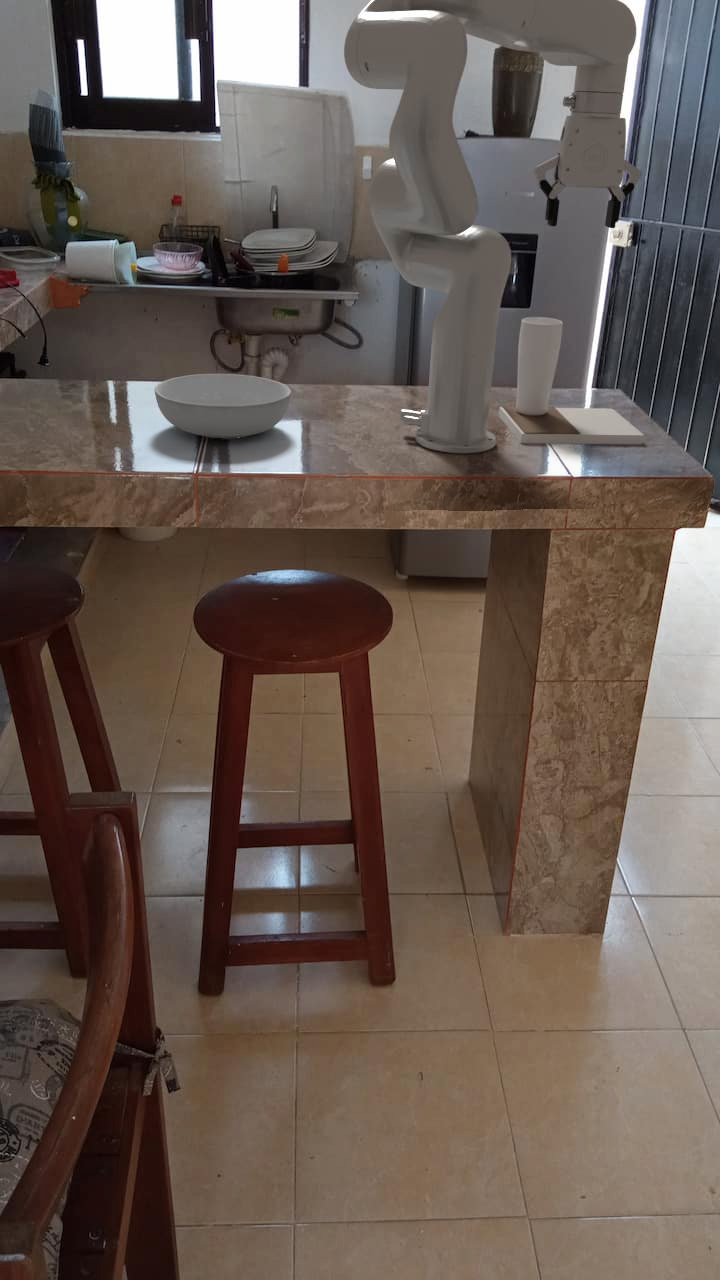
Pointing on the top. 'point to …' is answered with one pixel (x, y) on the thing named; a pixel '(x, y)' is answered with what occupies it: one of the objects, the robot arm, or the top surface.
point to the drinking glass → (537, 363)
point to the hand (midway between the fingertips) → (580, 226)
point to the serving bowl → (222, 404)
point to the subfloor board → (583, 428)
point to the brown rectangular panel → (542, 422)
